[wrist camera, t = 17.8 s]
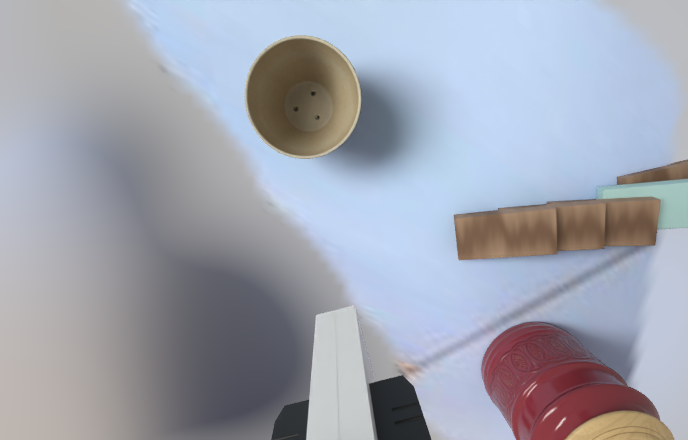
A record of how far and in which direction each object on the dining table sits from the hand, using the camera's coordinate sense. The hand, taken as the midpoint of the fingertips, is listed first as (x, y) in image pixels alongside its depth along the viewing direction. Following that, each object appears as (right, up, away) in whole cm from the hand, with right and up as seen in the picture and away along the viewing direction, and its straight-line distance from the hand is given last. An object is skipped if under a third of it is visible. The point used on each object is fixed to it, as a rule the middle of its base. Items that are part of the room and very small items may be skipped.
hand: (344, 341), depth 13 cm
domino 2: (+18, +3, +26) cm, 32 cm away
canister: (+24, -14, +32) cm, 42 cm away
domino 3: (+24, +4, +26) cm, 36 cm away
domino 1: (+13, +3, +26) cm, 29 cm away
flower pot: (-4, +17, +23) cm, 29 cm away
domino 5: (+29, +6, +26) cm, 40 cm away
